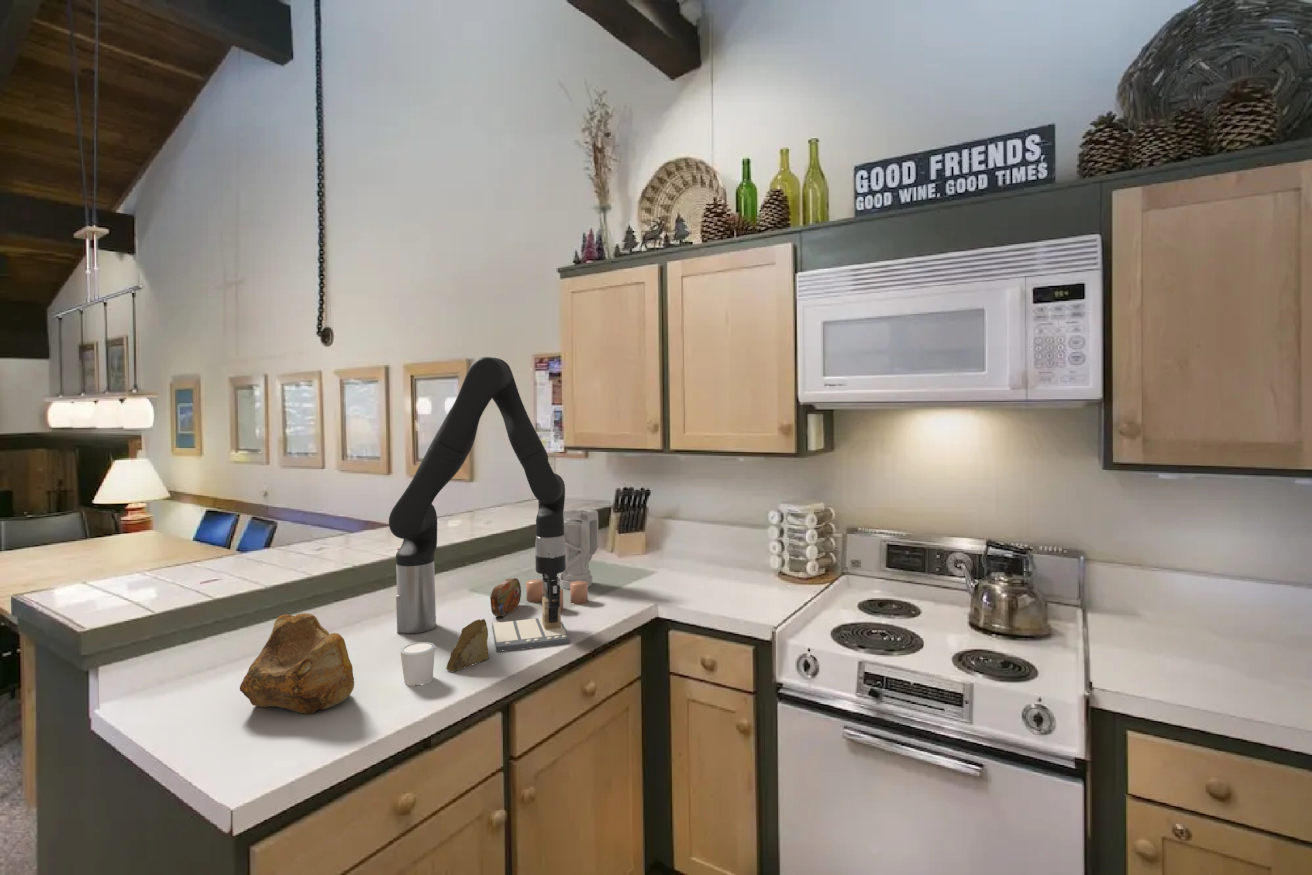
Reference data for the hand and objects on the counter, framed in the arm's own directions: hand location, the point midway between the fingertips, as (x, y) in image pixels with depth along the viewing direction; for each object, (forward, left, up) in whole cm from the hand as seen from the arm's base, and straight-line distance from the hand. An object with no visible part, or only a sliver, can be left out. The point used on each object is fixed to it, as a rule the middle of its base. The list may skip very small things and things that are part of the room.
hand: (551, 618), depth 162 cm
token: (0, 0, -2) cm, 2 cm away
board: (-6, -1, -3) cm, 7 cm away
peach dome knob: (+3, +17, -3) cm, 17 cm away
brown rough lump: (-54, -22, -4) cm, 58 cm away
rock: (-21, -14, -4) cm, 25 cm away
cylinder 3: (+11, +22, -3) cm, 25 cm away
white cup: (-31, -20, -3) cm, 37 cm away
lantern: (+14, +38, -3) cm, 41 cm away
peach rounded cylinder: (-1, +28, -3) cm, 28 cm away
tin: (-10, +20, -4) cm, 22 cm away
